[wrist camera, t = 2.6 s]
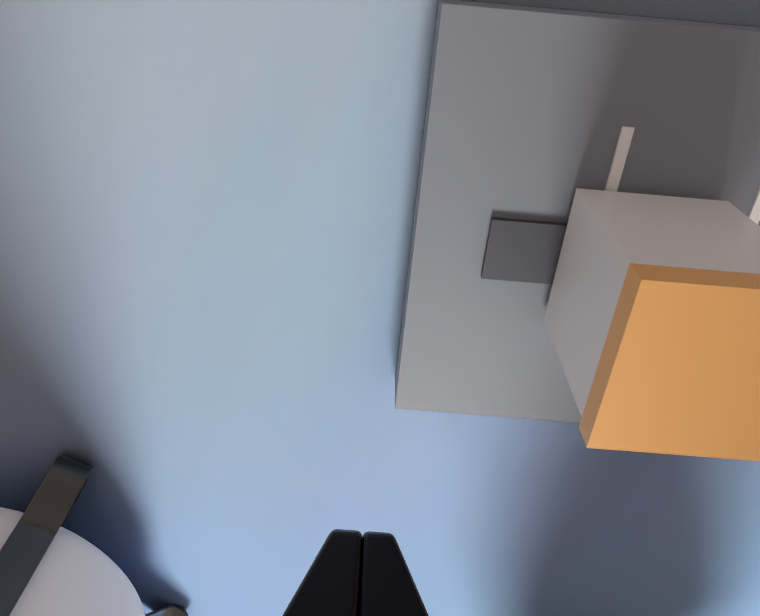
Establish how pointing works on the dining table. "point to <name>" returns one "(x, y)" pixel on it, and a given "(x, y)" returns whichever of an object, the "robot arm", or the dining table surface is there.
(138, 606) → the coffee press
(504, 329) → the console board
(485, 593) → the dining table surface
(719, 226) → the block
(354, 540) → the robot arm
